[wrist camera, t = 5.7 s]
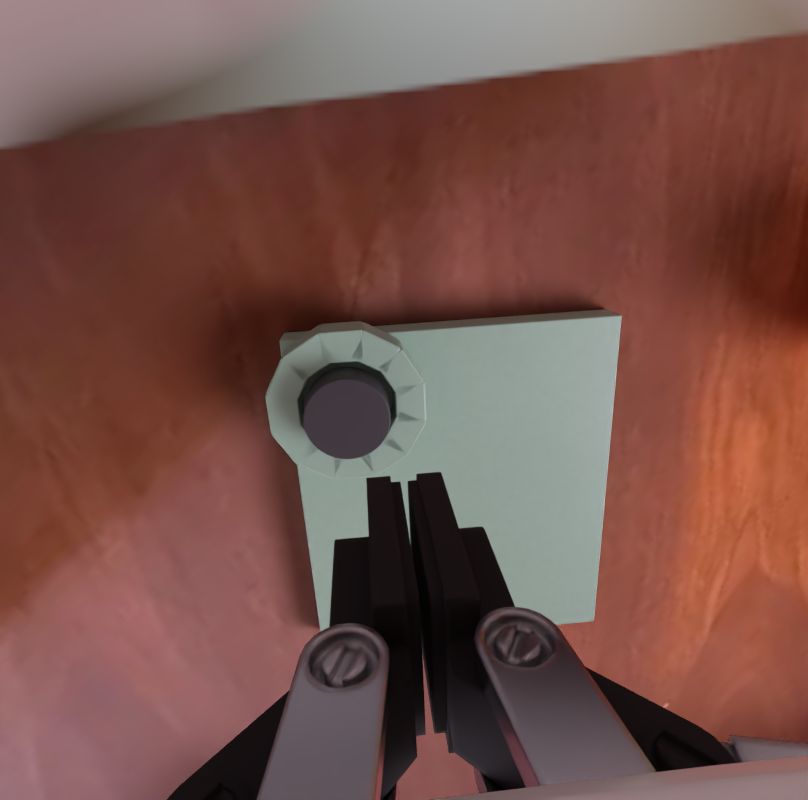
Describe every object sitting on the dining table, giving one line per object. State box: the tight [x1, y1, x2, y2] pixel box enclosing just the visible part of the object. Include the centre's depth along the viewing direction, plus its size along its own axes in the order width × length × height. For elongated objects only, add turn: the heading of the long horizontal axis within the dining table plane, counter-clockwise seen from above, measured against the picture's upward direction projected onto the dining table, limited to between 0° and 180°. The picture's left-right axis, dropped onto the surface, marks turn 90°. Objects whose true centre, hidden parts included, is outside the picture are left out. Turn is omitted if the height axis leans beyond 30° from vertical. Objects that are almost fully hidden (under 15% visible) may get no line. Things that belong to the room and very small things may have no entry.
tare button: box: [303, 367, 391, 459], centre depth 20 cm, size 3×3×2 cm
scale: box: [265, 309, 622, 632], centre depth 24 cm, size 17×14×3 cm
